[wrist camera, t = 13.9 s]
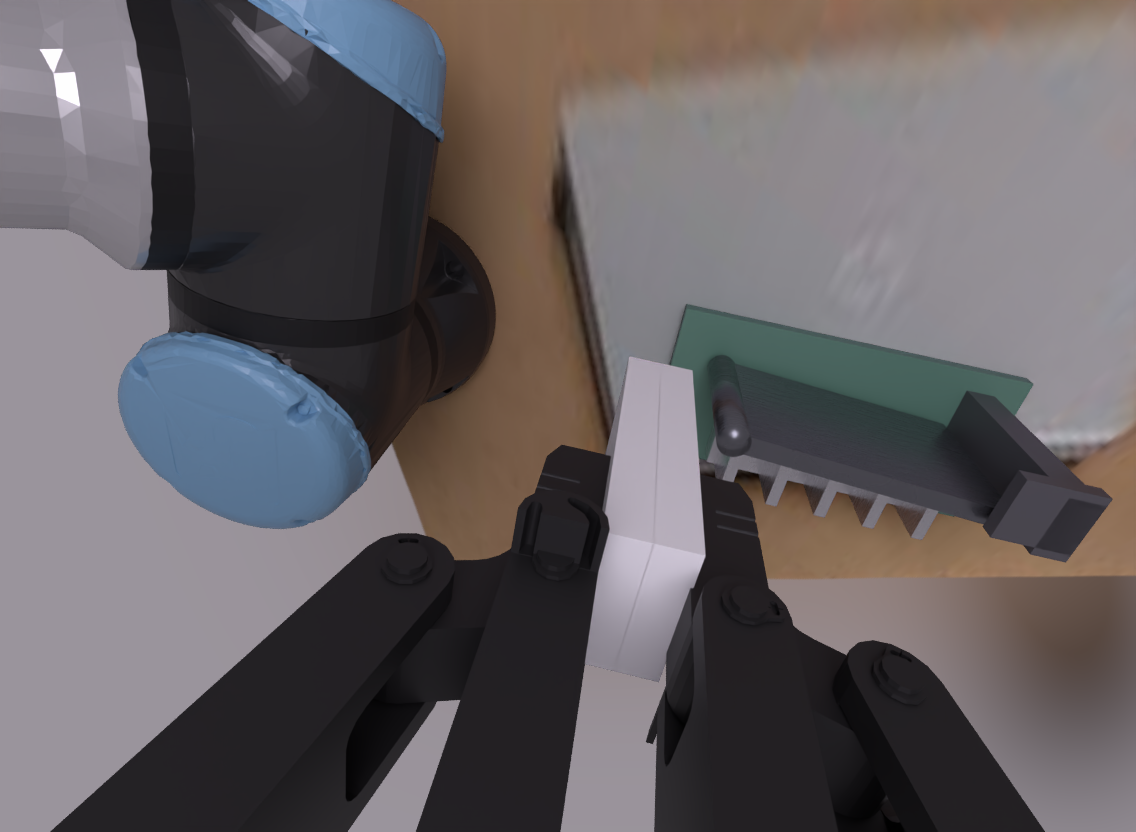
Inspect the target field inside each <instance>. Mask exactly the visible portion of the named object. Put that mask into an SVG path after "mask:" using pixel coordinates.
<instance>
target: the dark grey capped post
mask: <svg viewBox="0 0 1136 832" xmlns="http://www.w3.org/2000/svg"><path fill="white" fill-rule="evenodd" d="M947 429H948V430H949V431H950V433H951V434H952V435H953V436H954V438H955V439H956V440H957V441H958V443H959V444H960V445H961V447H962V448H963V449H964V450H965V452H966V453H967V454H968V455H969V457H970V458H971V459H972V460H973V462H974V463H975V464H976V465H977V467H978V468H979V469H980V471H981V472H982V473H983V474H984V476H985V477H986V478H987V479H988V481H989V482H990V483H991V484H992V486H993V487H994V488H995V489H996V491H997V492H998V493H999V495H1000V496H1001V498H1000V500H999V501H998V503H997V505H996V506H995V508H994V509H993V511H992V512H991V514H990V516H989V517H988V519H987V520H986V522H985V524H984V525H983V528H984V529H985V531H986V532H987V533H988V535H989V536H990V537H991V538H995V539H1000V540H1004V541H1008V542H1013V543H1017V544H1021V545H1024V547H1025V548H1026V549H1027V551H1028V552H1029V553H1030V554H1031V555H1036V556H1040V557H1044V558H1049V559H1053V560H1057V561H1062V562H1066V561H1067V560H1068V559H1069V557H1070V556H1071V555H1072V553H1073V552H1074V551H1075V549H1076V548H1077V547H1078V545H1079V544H1080V543H1081V541H1082V540H1083V538H1084V537H1085V536H1086V534H1087V533H1088V532H1089V530H1090V529H1091V528H1092V526H1093V525H1094V524H1095V522H1096V521H1097V520H1098V518H1099V517H1100V516H1101V514H1102V513H1103V511H1104V510H1105V509H1106V507H1107V506H1108V505H1109V503H1110V502H1111V501H1112V498H1111V497H1110V496H1109V495H1108V494H1107V493H1106V492H1105V491H1104V490H1103V489H1102V488H1097V487H1093V486H1088V485H1085V484H1084V483H1083V482H1082V481H1081V480H1080V479H1079V478H1077V477H1076V476H1075V475H1074V474H1073V473H1072V472H1071V471H1070V470H1069V469H1068V468H1067V467H1066V466H1065V465H1064V464H1063V463H1062V462H1061V461H1060V460H1059V459H1058V458H1057V457H1056V456H1055V455H1054V454H1053V453H1052V452H1051V451H1050V450H1049V449H1048V448H1047V447H1046V446H1045V445H1044V444H1043V443H1042V442H1041V441H1040V440H1039V439H1038V438H1037V437H1036V436H1035V435H1034V434H1033V433H1031V432H1030V431H1029V430H1028V429H1027V428H1026V427H1025V426H1024V425H1023V424H1022V423H1021V422H1020V421H1019V420H1018V419H1017V418H1016V417H1015V416H1014V415H1013V414H1012V413H1011V412H1010V411H1009V410H1008V409H1007V408H1006V407H1005V406H1004V405H1003V404H1002V403H1001V402H1000V401H999V400H998V399H997V398H996V397H995V396H990V395H986V394H981V393H977V392H972V391H968V390H967V391H966V393H965V395H964V397H963V398H962V400H961V402H960V404H959V406H958V408H957V409H956V411H955V413H954V415H953V417H952V419H951V420H950V422H949V424H948V426H947Z"/></svg>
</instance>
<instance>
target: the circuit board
mask: <svg viewBox="0 0 1136 832" xmlns="http://www.w3.org/2000/svg"><path fill="white" fill-rule="evenodd" d="M718 355H726V356H728V357H730V358H731V359H732V360H733V361H734V363H735V364H738V365H742V366H745V367H748V368H752V369H755V370H759V371H762V372H766V373H769V374H773V375H776V376H780V377H783V378H786V379H790V380H793V381H797V382H800V383H804V384H807V385H811V386H814V387H818V388H821V389H825V390H828V391H831V392H835V393H838V394H842V395H845V396H849V397H852V398H856V399H859V400H863V401H866V402H870V403H873V404H876V405H880V406H883V407H887V408H890V409H894V410H897V411H901V412H904V413H908V414H911V415H915V416H918V417H921V418H925V419H928V420H932V421H935V422H939V423H942V424H944V425H945V426H946V428H947V426H948V424H949V422H950V420H951V419H952V417H953V415H954V413H955V411H956V409H957V408H958V406H959V404H960V402H961V400H962V398H963V397H964V395H965V393H966V391H967V390H968V391H972V392H977V393H981V394H986V395H990V396H995V397H996V398H997V399H998V400H999V401H1000V402H1001V403H1002V404H1003V405H1004V406H1005V407H1006V408H1007V409H1008V410H1009V411H1010V412H1011V413H1012V414H1013V415H1014V416H1015V414H1016V413H1017V411H1018V409H1019V408H1020V406H1021V404H1022V403H1023V401H1024V399H1025V398H1026V396H1027V394H1028V393H1029V391H1030V389H1031V388H1032V386H1033V383H1032V382H1030V381H1029V380H1028V379H1027V378H1023V377H1018V376H1013V375H1009V374H1004V373H1000V372H995V371H990V370H986V369H981V368H977V367H972V366H968V365H963V364H958V363H954V362H949V361H945V360H940V359H935V358H931V357H926V356H922V355H917V354H913V353H908V352H903V351H899V350H894V349H890V348H885V347H880V346H876V345H871V344H867V343H862V342H857V341H853V340H848V339H844V338H839V337H835V336H830V335H825V334H821V333H816V332H812V331H807V330H802V329H798V328H793V327H789V326H784V325H780V324H775V323H770V322H766V321H761V320H757V319H752V318H747V317H743V316H738V315H734V314H729V313H725V312H720V311H715V310H711V309H706V308H702V307H697V306H692V305H688V304H686V308H685V311H684V315H683V319H682V322H681V326H680V329H679V333H678V336H677V340H676V343H675V347H674V351H673V354H672V358H671V361H670V365H671V366H675V367H680V368H684V369H689V370H693V384H694V399H695V413H696V427H697V441H698V456H699V458H700V459H704V460H706V446H707V443H708V440H709V437H710V434H711V431H712V428H713V425H714V419H713V411H712V403H711V395H710V387H709V378H708V370H707V366H708V363H709V361H710V360H711V359H712V358H714V357H715V356H718ZM938 513H940V514H945V515H949V516H953V515H950V514H946V513H943V512H938ZM953 517H954V516H953Z"/></svg>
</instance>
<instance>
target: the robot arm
mask: <svg viewBox="0 0 1136 832" xmlns="http://www.w3.org/2000/svg"><path fill="white" fill-rule="evenodd" d="M445 79H446V56H445V51H444V48H443V45H442V43H441V41H440V39H439V37H438V36H437V34H436V32H435V31H434V30H433V29H432V27H431V26H430V25H429V24H428V23H427V22H426V21H424V20H423V19H422V18H421V17H419V16H418V15H416V14H415V13H413V12H411V11H410V10H408V9H406V8H404V7H402V6H401V5H399V4H397V3H395V2H393V1H391V0H0V228H32V229H33V228H34V229H66V230H69V231H71V232H73V233H76V234H78V235H81V236H83V237H84V238H85V239H87V240H88V241H89V242H91V243H92V244H93V245H95V246H96V247H97V248H99V249H100V250H101V251H103V252H104V253H105V254H107V255H108V256H109V257H111V258H112V259H113V260H115V261H116V262H117V263H119V264H120V265H121V266H123V267H124V268H126V269H130V270H167V280H168V301H169V319H170V328H169V331H168V333H166V334H163V335H161V336H159V337H156V338H152V339H151V340H149V341H148V342H146V343H145V344H144V345H143V346H142V348H141V349H140V351H139V352H138V353H137V355H136V357H134V358H133V359H132V360H131V361H130V362H129V363H128V364H127V365H126V367H125V369H124V371H123V373H122V375H121V379H120V383H119V388H118V403H119V409H120V413H121V417H122V420H123V423H124V426H125V428H126V431H127V433H128V435H129V437H130V439H131V440H132V442H133V444H134V445H135V447H136V448H137V450H138V451H139V453H140V454H141V456H142V457H143V458H144V460H145V461H146V462H147V463H148V464H149V465H150V466H151V467H152V469H153V470H154V471H155V472H156V473H157V474H158V475H159V476H160V477H162V478H164V479H165V480H166V481H168V482H169V483H170V484H171V485H172V486H173V487H174V488H175V489H176V490H177V491H178V492H179V493H180V494H182V495H183V496H184V497H186V498H187V499H189V500H191V501H192V502H194V503H196V504H197V505H199V506H200V507H203V508H204V509H206V510H208V511H210V512H212V513H214V514H217V515H219V516H221V517H224V518H226V519H229V520H232V521H235V522H238V523H242V524H246V525H250V526H255V527H260V528H272V529H286V528H295V527H300V526H304V525H307V524H308V523H311V522H314V521H316V520H320V519H323V518H324V517H326V516H328V515H329V514H331V513H332V512H333V511H334V510H335V509H337V508H338V507H339V506H340V505H341V504H342V503H343V502H344V501H345V500H346V499H347V498H348V497H349V496H350V495H351V494H352V493H354V492H356V491H357V489H358V488H360V487H361V486H362V485H363V483H364V482H365V481H366V480H367V477H368V473H369V472H370V471H371V469H372V468H373V467H374V465H375V464H376V463H377V461H378V460H379V459H380V457H381V456H382V454H384V452H385V451H386V450H387V448H388V447H389V446H390V444H391V443H392V442H393V440H394V439H395V438H396V436H397V435H398V434H399V432H400V431H401V430H402V428H403V427H404V426H405V424H406V423H407V422H408V420H409V419H410V418H411V416H412V415H413V414H414V412H415V411H416V410H417V409H418V407H419V406H420V405H423V404H425V403H426V402H430V401H433V400H436V399H439V398H442V397H444V396H446V395H448V394H450V393H452V392H453V391H455V390H456V389H458V388H459V387H460V386H461V385H463V384H464V383H465V382H466V381H467V380H468V379H469V378H470V377H471V376H472V375H473V373H474V372H475V371H476V369H477V368H478V366H479V365H480V363H481V362H482V360H483V359H484V357H485V356H486V354H487V352H488V350H489V347H490V345H491V342H492V338H493V334H494V329H495V303H494V297H493V292H492V289H491V285H490V283H489V280H488V277H487V275H486V273H485V271H484V269H483V267H482V265H481V263H480V262H479V260H478V259H477V257H476V256H475V254H474V253H473V252H472V250H471V249H470V248H469V247H468V245H467V244H466V243H465V242H464V241H463V240H462V239H461V238H460V237H459V236H458V235H456V234H455V233H454V232H453V231H452V230H450V229H449V228H448V227H446V226H445V225H443V224H442V223H440V222H438V221H437V220H435V219H433V218H431V217H429V216H428V215H429V208H430V200H431V193H432V186H433V179H434V172H435V165H436V158H437V151H438V144H439V142H441V143H443V140H444V130H443V128H442V127H441V119H442V109H443V99H444V89H445ZM585 664H587V665H591V666H595V667H599V668H603V669H607V670H611V671H616V672H620V673H624V674H628V675H632V676H636V677H640V678H644V679H649V680H652V681H657V682H659V680H660V677H661V674H662V671H663V669H664V666H665V664H666V687H665V690H664V692H663V695H662V698H661V700H660V703H659V706H658V708H657V711H656V713H655V716H654V719H653V721H652V724H651V726H650V729H649V733H648V736H647V740H646V742H647V743H651V744H653V742H654V739H655V737H656V734H657V751H656V752H657V753H656V789H655V827H654V832H1045V831H1044V830H1043V828H1042V827H1041V825H1040V824H1039V822H1038V821H1037V819H1036V818H1035V816H1034V815H1033V814H1032V812H1031V811H1030V809H1029V808H1028V806H1027V805H1026V803H1025V802H1024V800H1023V799H1022V798H1021V796H1020V795H1019V793H1018V792H1017V790H1016V789H1015V787H1014V786H1013V785H1012V783H1011V782H1010V780H1009V779H1008V777H1007V776H1006V774H1005V773H1004V772H1003V770H1002V769H1001V767H1000V766H999V764H998V763H997V761H996V760H995V759H994V757H993V756H992V754H991V753H990V751H989V750H988V748H987V747H986V746H985V744H984V743H983V741H982V740H981V738H980V737H979V735H978V734H977V732H976V731H975V730H974V728H973V727H972V725H971V724H970V723H969V721H968V720H967V718H966V717H965V716H964V714H963V712H962V711H961V709H960V708H959V707H958V705H957V704H956V702H955V701H954V699H953V698H952V696H951V695H950V693H949V692H948V691H947V689H946V688H945V686H944V685H943V683H942V682H941V681H940V680H939V679H938V678H937V676H936V675H935V674H934V673H933V672H932V671H931V670H930V668H929V667H928V666H927V665H925V664H924V663H923V662H921V661H920V660H919V659H917V658H916V657H914V656H913V655H912V654H910V653H909V652H907V651H904V650H902V649H900V648H898V647H896V646H894V645H892V644H888V643H883V642H878V641H874V640H872V641H865V642H859V643H857V644H856V645H855V646H854V647H853V648H851V649H850V650H849V652H848V654H847V655H845V654H843V653H841V652H839V651H837V650H835V649H833V648H831V647H828V646H826V645H824V644H822V643H820V642H818V641H816V640H814V639H812V638H811V637H809V636H807V635H806V634H804V633H802V632H801V631H799V630H798V629H797V628H795V627H794V626H793V623H792V618H791V616H790V614H789V611H788V609H787V607H786V605H785V604H784V603H783V602H782V601H781V600H780V598H779V597H778V596H777V595H776V594H775V593H774V592H773V591H771V590H770V589H769V588H768V583H767V577H766V572H765V566H764V561H763V556H762V551H761V545H760V540H759V538H758V530H757V524H756V523H755V514H754V508H753V503H752V501H751V499H750V498H749V497H748V495H747V494H746V493H745V491H744V490H743V489H742V487H741V486H740V485H739V483H734V482H730V481H726V480H721V479H717V478H713V477H708V476H704V475H700V470H699V456H698V441H697V427H696V413H695V399H694V384H693V370H689V369H684V368H680V367H675V366H671V365H666V364H662V363H657V362H653V361H648V360H644V359H639V358H635V357H630V356H629V360H628V364H627V368H626V372H625V376H624V381H623V385H622V389H621V393H620V397H619V401H618V405H617V409H616V413H615V417H614V421H613V426H612V430H611V434H610V438H609V442H608V446H607V450H606V454H605V455H604V454H600V453H596V452H591V451H587V450H583V449H578V448H574V447H570V446H565V445H561V446H560V447H558V448H557V449H556V450H554V451H553V452H552V453H550V454H549V455H548V456H547V458H546V461H545V464H544V467H543V470H542V473H541V476H540V479H539V482H538V485H537V488H536V491H535V494H533V495H531V496H529V497H527V498H525V499H524V501H523V502H522V503H521V505H520V506H519V507H518V512H517V518H516V524H515V529H514V535H513V541H512V547H511V549H510V550H508V551H506V552H505V553H503V554H501V555H499V556H496V557H492V558H489V559H482V560H454V557H453V556H452V554H451V553H450V551H449V550H448V548H447V547H446V546H445V545H443V544H442V543H440V542H439V541H437V540H436V539H434V538H432V537H428V536H424V535H420V534H417V533H415V534H412V533H411V534H409V533H407V534H406V533H400V534H395V535H391V536H387V537H383V538H380V539H379V540H377V541H376V542H374V543H372V544H371V545H369V546H368V547H367V548H365V549H364V550H363V551H362V552H361V553H360V554H359V555H357V556H356V557H355V558H354V559H353V560H352V561H351V562H350V563H349V564H347V565H346V566H345V567H344V568H343V569H342V570H341V571H340V572H339V573H337V574H336V575H335V576H334V577H333V578H332V579H331V580H330V581H329V582H327V583H326V584H325V585H324V586H323V587H322V588H321V589H320V590H319V591H318V592H316V594H314V595H313V596H312V597H311V598H310V599H309V600H307V601H306V602H305V603H304V604H303V605H302V606H301V607H300V608H299V609H297V610H296V611H295V612H294V613H293V614H292V615H291V616H290V617H288V618H287V620H285V621H284V622H283V623H282V624H281V625H280V626H279V627H277V628H276V629H275V630H274V631H273V632H272V633H271V634H270V635H268V636H267V637H266V638H265V639H264V640H263V641H262V642H261V643H260V644H258V645H257V646H256V647H255V648H254V649H253V650H252V651H251V652H250V653H249V654H247V655H246V656H245V657H244V658H243V659H242V660H241V661H240V662H238V663H237V664H236V665H235V666H234V667H233V668H232V669H231V670H230V671H228V672H227V673H226V674H225V675H224V676H223V677H222V678H221V679H220V680H219V681H218V682H216V683H215V684H214V685H213V686H212V687H211V688H210V689H208V690H207V691H206V692H205V693H204V694H203V695H202V696H201V697H200V698H198V699H197V700H196V701H195V702H194V703H193V704H192V705H191V706H190V707H188V708H187V709H186V710H185V711H184V712H183V713H182V714H181V715H180V716H178V717H177V719H175V720H174V721H173V722H172V723H171V724H170V725H169V726H167V727H166V728H165V729H164V730H163V731H162V732H161V733H160V734H159V735H157V736H156V737H155V738H154V739H153V740H152V741H151V742H150V743H148V744H147V745H146V746H145V747H144V748H143V749H142V750H141V751H140V752H138V753H137V754H136V755H135V756H134V757H133V758H132V759H131V760H130V761H128V762H127V763H126V764H125V765H124V766H123V767H122V768H121V769H120V770H118V771H117V772H116V773H115V774H114V775H113V776H112V777H111V778H109V780H107V781H106V782H105V783H104V784H103V785H102V786H101V787H100V788H98V789H97V790H96V791H95V792H94V793H93V794H92V795H91V796H90V797H88V798H87V799H86V800H85V801H84V802H83V803H82V804H81V805H80V806H78V807H77V808H76V809H75V810H74V811H73V812H72V813H71V814H69V815H68V816H67V817H66V818H65V819H64V820H63V821H62V822H61V823H59V824H58V825H57V826H56V827H55V828H54V829H53V830H52V831H51V832H348V830H349V829H350V827H351V826H352V825H353V823H354V822H355V820H356V819H357V817H358V816H359V814H360V813H361V811H362V810H363V809H364V807H365V806H366V804H367V803H368V802H369V800H370V799H371V797H372V796H373V794H374V793H375V791H376V790H377V789H378V787H379V786H380V784H381V783H382V781H383V780H384V779H385V777H386V776H387V774H388V773H389V771H390V770H391V768H392V767H393V766H394V764H395V763H396V761H397V760H398V758H399V757H400V756H401V754H402V753H403V751H404V750H405V748H406V747H407V745H408V744H409V743H410V741H411V740H412V738H413V737H414V735H415V734H416V733H417V731H418V730H419V728H420V727H421V725H422V724H423V723H424V721H425V720H426V718H427V717H428V715H429V714H430V712H431V711H432V710H433V708H434V706H435V704H436V702H437V701H449V700H460V703H459V706H458V709H457V712H456V715H455V718H454V721H453V724H452V727H451V729H450V732H449V735H448V738H447V741H446V744H445V748H444V750H443V753H442V757H441V759H440V762H439V765H438V768H437V771H436V774H435V777H434V780H433V783H432V786H431V789H430V792H429V794H428V798H427V800H426V803H425V806H424V809H423V812H422V816H421V818H420V821H419V824H418V827H417V830H416V832H560V830H561V823H562V816H563V810H564V803H565V795H566V789H567V782H568V775H569V769H570V762H571V755H572V748H573V741H574V735H575V727H576V720H577V714H578V707H579V700H580V693H581V687H582V679H583V673H584V666H585Z"/></svg>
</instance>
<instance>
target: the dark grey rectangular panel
mask: <svg viewBox="0 0 1136 832" xmlns="http://www.w3.org/2000/svg"><path fill="white" fill-rule="evenodd" d="M707 370H708V378H709V387H710V395H711V403H712V411H713V419H714V428H715V436H716V444H717V448H718V450H719V451H720V452H721V453H722V454H724V455H726V456H729V457H738V456H741V455H747V456H750V457H754V458H757V459H760V460H764V461H767V462H771V463H774V464H778V465H781V466H785V467H788V468H791V469H795V470H798V471H802V472H805V473H809V474H812V475H816V476H819V477H822V478H826V479H829V480H833V481H836V482H840V483H843V484H847V485H850V486H853V487H857V488H860V489H864V490H867V491H871V492H874V493H878V494H881V495H884V496H888V497H891V498H895V499H898V500H902V501H905V502H909V503H912V504H915V505H919V506H922V507H926V508H929V509H933V510H936V511H939V512H943V513H946V514H950V515H953V516H957V517H960V518H964V519H967V520H970V521H974V522H977V523H981V524H985V522H986V520H987V519H988V517H989V516H990V514H991V512H992V511H993V509H994V508H995V506H996V505H997V503H998V501H999V500H1000V498H1001V496H1000V495H999V493H998V492H997V491H996V489H995V488H994V487H993V486H992V484H991V483H990V482H989V481H988V479H987V478H986V477H985V476H984V474H983V473H982V472H981V471H980V469H979V468H978V467H977V465H976V464H975V463H974V462H973V460H972V459H971V458H970V457H969V455H968V454H967V453H966V452H965V450H964V449H963V448H962V447H961V445H960V444H959V443H958V441H957V440H956V439H955V438H954V436H953V435H952V434H951V433H950V431H949V430H948V429H947V428H946V426H945V425H944V424H942V423H939V422H935V421H932V420H928V419H925V418H921V417H918V416H915V415H911V414H908V413H904V412H901V411H897V410H894V409H890V408H887V407H883V406H880V405H876V404H873V403H870V402H866V401H863V400H859V399H856V398H852V397H849V396H845V395H842V394H838V393H835V392H831V391H828V390H825V389H821V388H818V387H814V386H811V385H807V384H804V383H800V382H797V381H793V380H790V379H786V378H783V377H780V376H776V375H773V374H769V373H766V372H762V371H759V370H755V369H752V368H748V367H745V366H742V365H738V364H735V363H734V361H733V360H732V359H731V358H730V357H728V356H726V355H718V356H715V357H714V358H712V359H711V360H710V361H709V363H708V366H707Z"/></svg>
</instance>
